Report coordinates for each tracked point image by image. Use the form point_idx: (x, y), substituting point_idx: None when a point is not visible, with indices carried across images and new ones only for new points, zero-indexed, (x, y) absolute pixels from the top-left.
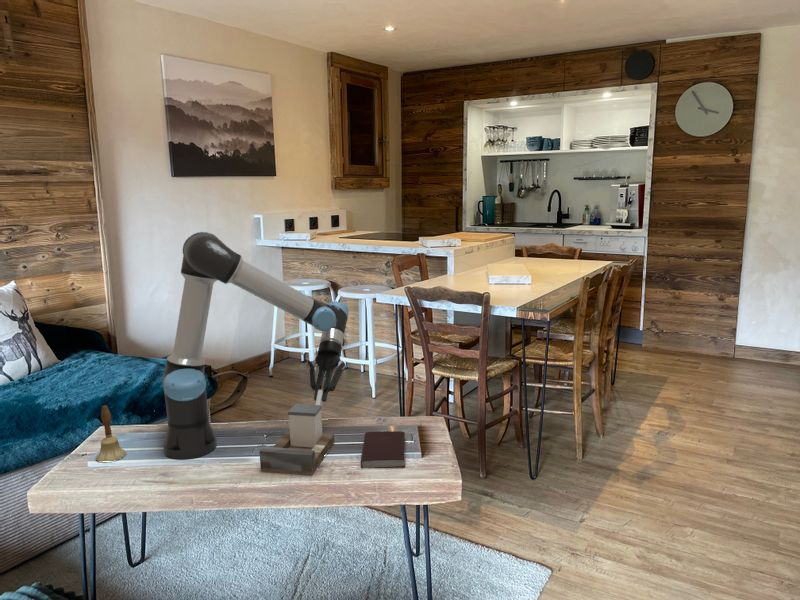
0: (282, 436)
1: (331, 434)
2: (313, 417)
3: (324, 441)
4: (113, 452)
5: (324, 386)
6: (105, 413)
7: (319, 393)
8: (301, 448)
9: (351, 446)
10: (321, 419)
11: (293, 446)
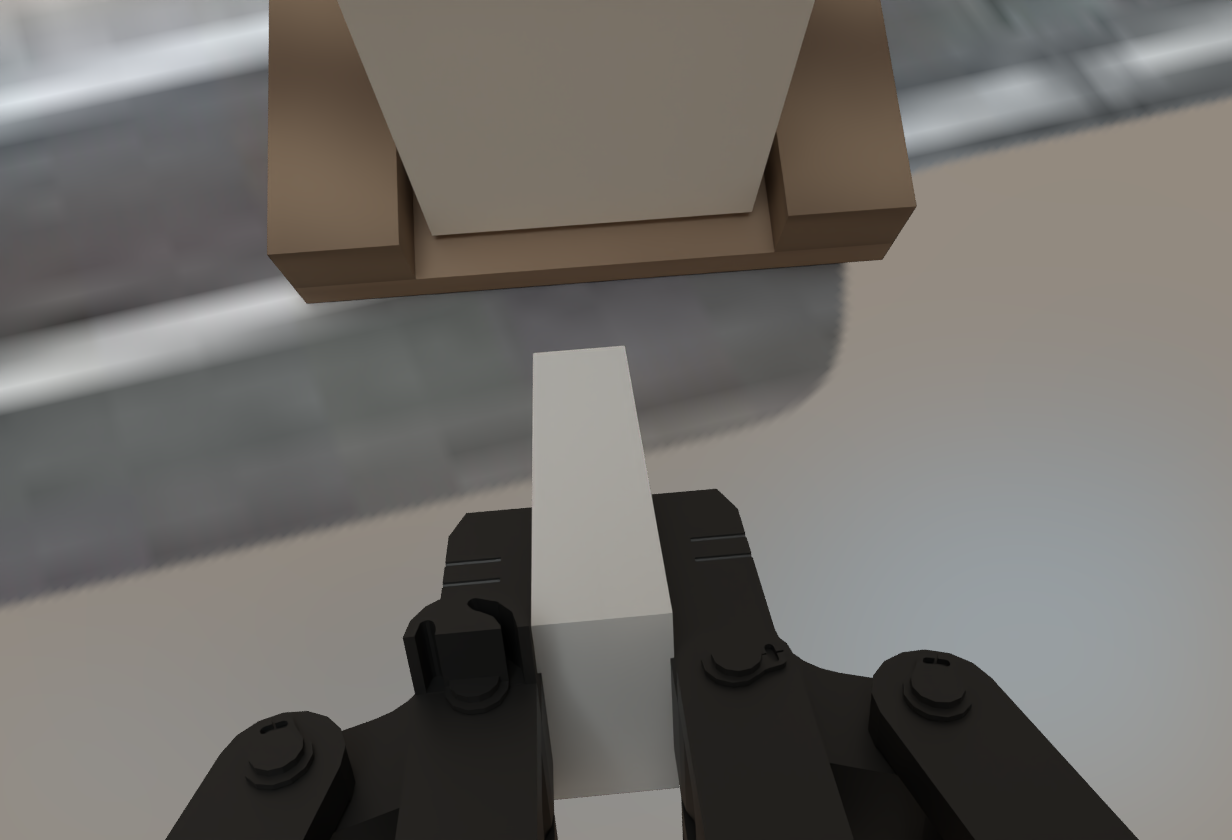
0: (885, 37)
1: (294, 220)
2: None
3: (319, 31)
4: None
5: (502, 731)
6: None
7: (604, 541)
8: None
9: (83, 262)
10: (370, 77)
11: None
